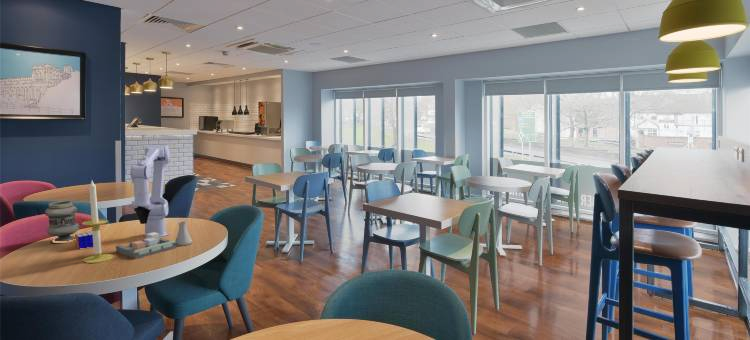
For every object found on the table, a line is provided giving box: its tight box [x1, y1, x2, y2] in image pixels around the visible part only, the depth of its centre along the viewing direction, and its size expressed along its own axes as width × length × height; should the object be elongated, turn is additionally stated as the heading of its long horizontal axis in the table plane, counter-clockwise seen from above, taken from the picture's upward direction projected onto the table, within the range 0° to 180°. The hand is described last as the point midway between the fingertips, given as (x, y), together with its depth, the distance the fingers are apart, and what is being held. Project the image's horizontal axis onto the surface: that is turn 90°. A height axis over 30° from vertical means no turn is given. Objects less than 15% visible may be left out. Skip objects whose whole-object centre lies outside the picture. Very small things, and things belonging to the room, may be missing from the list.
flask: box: [174, 221, 193, 246], centre depth 183 cm, size 7×7×10 cm
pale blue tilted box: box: [144, 238, 157, 247], centre depth 172 cm, size 4×3×4 cm
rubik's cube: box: [74, 231, 94, 250], centre depth 178 cm, size 6×6×6 cm
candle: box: [82, 180, 114, 264], centre depth 161 cm, size 10×10×32 cm
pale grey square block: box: [146, 232, 160, 243], centre depth 180 cm, size 4×3×4 cm
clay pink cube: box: [132, 240, 145, 250], centre depth 168 cm, size 4×3×4 cm
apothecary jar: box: [44, 200, 81, 241], centre depth 185 cm, size 12×12×18 cm
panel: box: [115, 237, 177, 260], centre depth 175 cm, size 16×17×3 cm
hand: (143, 223), depth 178 cm, fingers closed
